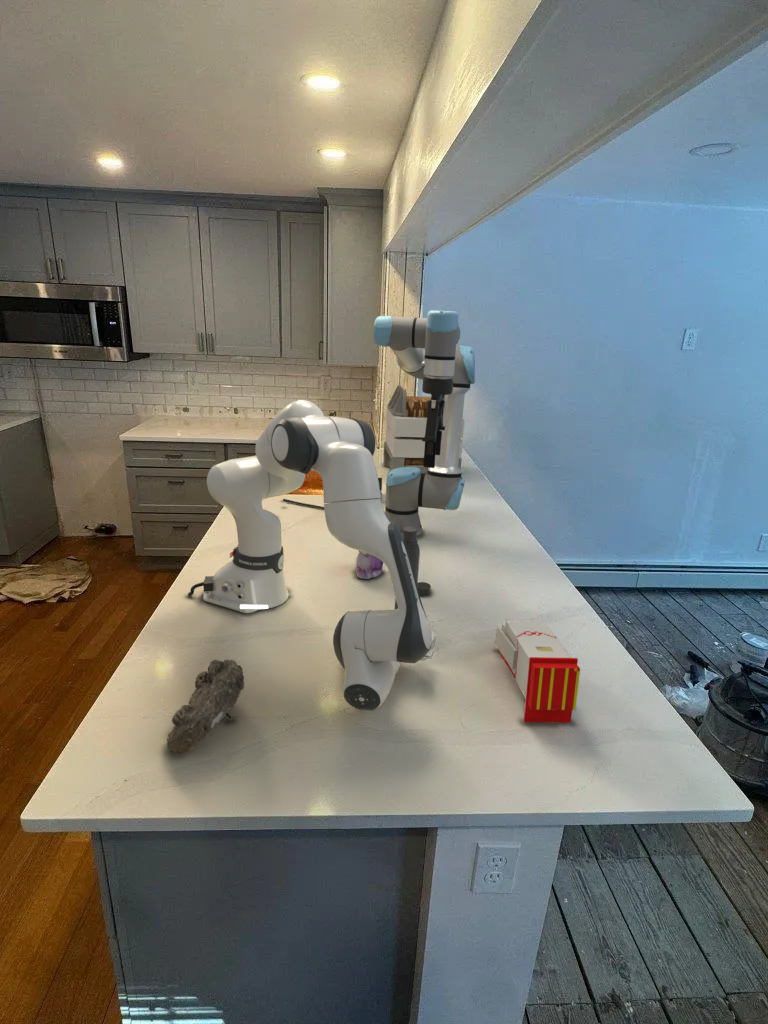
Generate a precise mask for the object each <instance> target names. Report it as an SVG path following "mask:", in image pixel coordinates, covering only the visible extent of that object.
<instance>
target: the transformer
mask: <svg viewBox="0 0 768 1024" xmlns="http://www.w3.org/2000/svg"><path fill="white" fill-rule="evenodd" d="M407 394H408V393H407V390H406V389H404V388H403V387H402V385H399V384H398V385H397V386H396V388H395V390H394V392H393V394H392V395H391V398H390V400H389V402H388V404H387V405H386V413H385V414H386V415H385V423H386V428H385V438H384V442H383V466H384V467H388V468H389V472H390V471H391V470H393V469H396V468H400V467H405V466H406V467H417V466H418V467H423V465H424V450H425V442H424V441H422V438H424V437H425V431H426V423H427V411H428V401H429V399H430V400H431V396H415V395H414V396H413V395H412V396H411V395H407ZM464 429H465V419H464V418H462V429H461V439H460V450H459V460H458V467H459V468H460V470H461V471H462V461H463V460H462V453H463V442H464V441H463V440H462V439H463V438H464V431H465V430H464Z"/></svg>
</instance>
